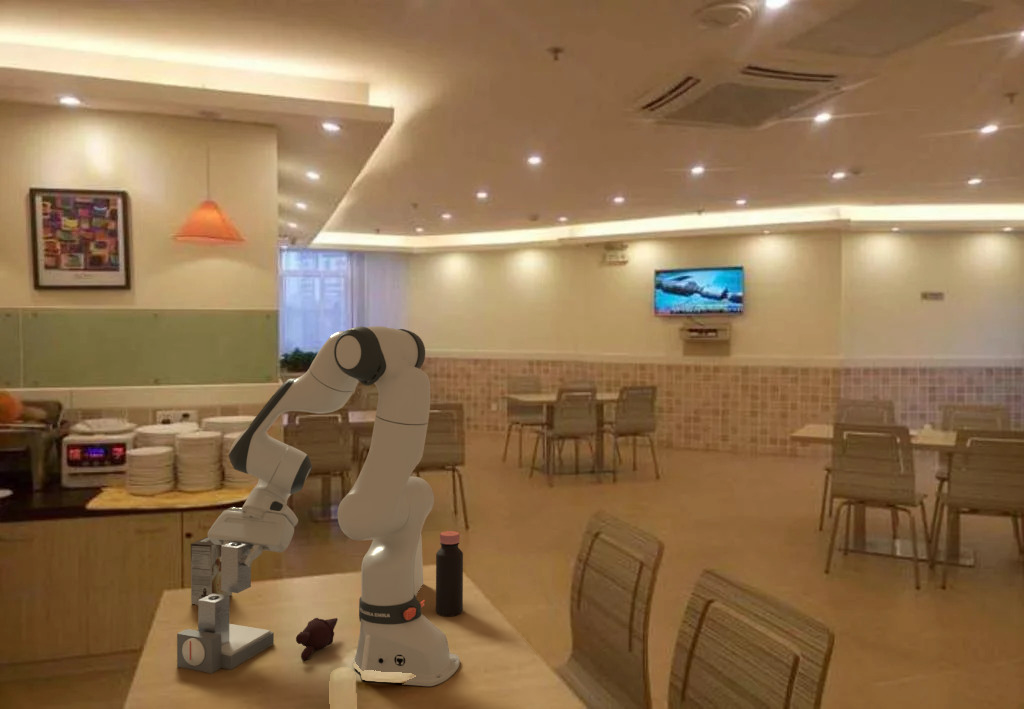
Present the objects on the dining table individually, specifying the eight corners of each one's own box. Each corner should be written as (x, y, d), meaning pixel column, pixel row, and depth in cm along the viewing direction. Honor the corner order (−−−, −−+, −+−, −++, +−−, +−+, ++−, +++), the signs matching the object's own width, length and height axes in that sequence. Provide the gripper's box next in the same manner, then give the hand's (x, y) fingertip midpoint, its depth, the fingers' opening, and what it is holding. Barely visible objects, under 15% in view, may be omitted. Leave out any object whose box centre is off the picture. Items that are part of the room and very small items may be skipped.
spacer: (250, 586, 169) (250, 542, 169) (237, 593, 165) (237, 547, 165) (234, 584, 171) (234, 540, 171) (221, 590, 167) (221, 545, 166)
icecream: (319, 606, 176) (281, 636, 162) (346, 602, 173) (309, 632, 159) (327, 634, 176) (289, 666, 162) (354, 631, 174) (318, 663, 160)
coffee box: (211, 593, 203) (211, 534, 203) (232, 595, 202) (232, 535, 201) (190, 605, 194) (189, 543, 194) (212, 607, 193) (212, 544, 192)
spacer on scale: (229, 641, 163) (229, 595, 163) (215, 649, 159) (215, 602, 159) (213, 638, 164) (212, 593, 164) (198, 646, 160) (198, 599, 160)
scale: (273, 643, 170) (273, 613, 170) (219, 676, 153) (219, 642, 153) (223, 635, 174) (223, 605, 174) (165, 665, 158) (165, 633, 158)
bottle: (431, 609, 192) (432, 531, 191) (456, 605, 195) (457, 528, 194) (441, 618, 186) (442, 538, 185) (466, 614, 189) (467, 535, 188)
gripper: (219, 499, 178) (189, 551, 169) (293, 506, 171) (265, 561, 162) (232, 513, 182) (203, 565, 173) (304, 521, 175) (278, 575, 166)
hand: (234, 563), depth 167 cm, fingers closed on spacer, 4 cm apart
